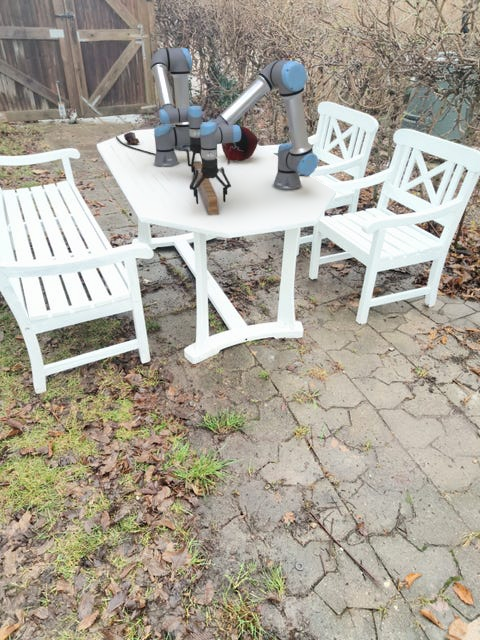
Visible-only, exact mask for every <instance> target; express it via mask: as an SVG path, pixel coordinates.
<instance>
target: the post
mask: <svg viewBox="0 0 480 640" xmlns="http://www.w3.org/2000/svg"><path fill="white" fill-rule="evenodd" d="M193 166H194V167H195V169H200V170H201V169H202V160H198V161H197V160H196V161H195V160H194V165H193ZM202 175H203V174H202V173H201V172H200V174H198V177H197V179H196V181H195V183H197V182H198V180H199V179H200V178H201V176H202ZM198 191H199V193H200V195H201V197H202V201H203V203H204V205H205V208H206V211H207V213H208V215H209V216H210V215H219V200H218V199H219V198H218V197H219V196H218V195H217V193H216V191H215V189H214V187H213V184H212V183H211V181H210V178H209V179H207V178H205V179H204V180H203V182H202V183H201V184H200V186H199V187H198Z"/></svg>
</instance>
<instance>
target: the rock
mask: <svg viewBox="0 0 480 640" xmlns="http://www.w3.org/2000/svg"><path fill="white" fill-rule="evenodd" d="M123 138H124V140H125V141H126V143H127V145H138V144H140V140H139V139H138V138H137V137H136V134H135V132H133V131H129V132H126V133H124V134H123Z"/></svg>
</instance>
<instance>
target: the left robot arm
mask: <svg viewBox="0 0 480 640" xmlns="http://www.w3.org/2000/svg"><path fill="white" fill-rule="evenodd" d="M149 67H150V73H151V75H152V76H153V78H154V83H155V87H156V91H157V96H158V100H159V105H160V109H159V110H158V119H159V122H160V125H158V126H157V125H156V127H155V128H154V129H153V136H154V142H155V143H154V145H155V153H154V152H150V151H148V150H144V149H140V148H137V147H133V146H131V145H129V144H126V143H124V142H123V141H121V140H120V139H119V137H118V136H117V135H116V136H115V138H116V139H117V141H118V142H119V143H120V144H122V145H123V146H125V147H128V148H130V149H132V150H137V151H140V152H143V153H147V154H150V155H154V165H155V166H157V167H163V168H164V167H165V168H167V167H168V168H169V167H174V166H177V165H178V164H179V159H178V157H177V153H176V151H175V147H174V146H184V145H188V146H189V145H190V147H189V148H186V150H185V151H186V160H187V166H188V167H190V171H191V173H192V174H193V177H194V175H195V167H194V166H193V165H194V161H195V159H196V155H199V156H200V159H201V160H200V161H202V157H201V137H200V126H201V124H202V123H203V109H202V107H201V106H200V105H190V90H189V76H190V75H191V71H192V70H193V60H192V56H191V53H190V50H189V49H188V48H186V47H171V48H170V47H169V48H160V49H158V50H157V51H155V52H154V54H153V55H152V58H151V60H150V66H149ZM169 72H170V76H171V77H172V78H173V88H174V98H175V99H173V95H172V90H171V87H170V82H169V78H168V73H169ZM174 100H175V103H174ZM172 124H174V126H173V125H172ZM190 149H191V150H190ZM190 151H191V152H192V156H191V158H190Z"/></svg>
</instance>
